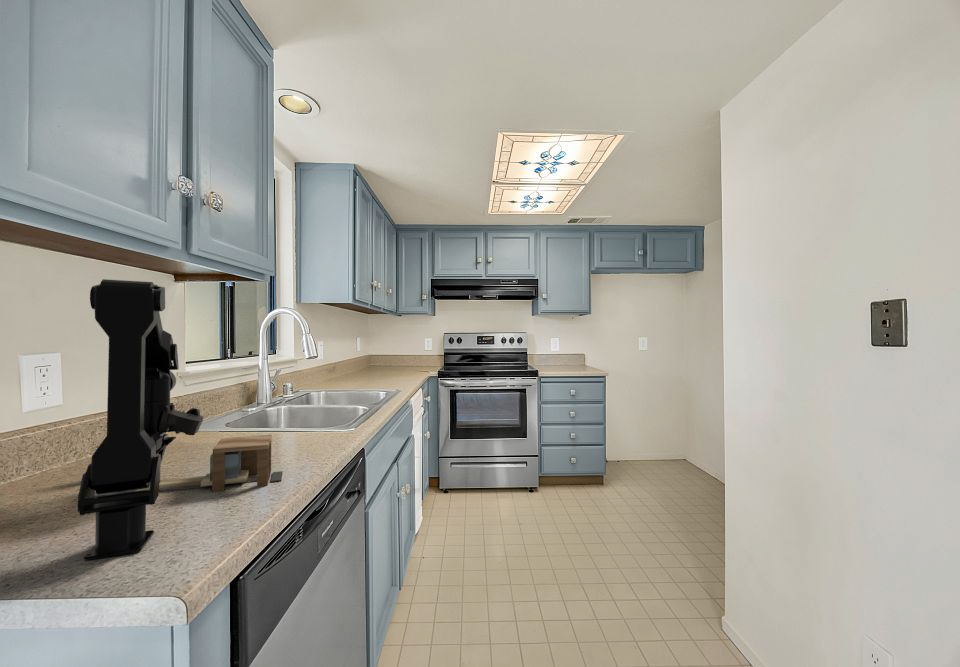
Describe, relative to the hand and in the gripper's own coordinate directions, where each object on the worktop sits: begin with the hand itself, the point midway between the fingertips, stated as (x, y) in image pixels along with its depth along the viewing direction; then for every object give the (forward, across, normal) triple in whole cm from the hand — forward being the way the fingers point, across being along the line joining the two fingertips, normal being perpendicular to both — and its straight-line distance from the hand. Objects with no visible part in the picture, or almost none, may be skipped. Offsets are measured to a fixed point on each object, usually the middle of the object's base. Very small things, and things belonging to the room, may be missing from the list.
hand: (151, 477), depth 86 cm
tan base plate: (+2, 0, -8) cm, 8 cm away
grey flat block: (+3, 0, -23) cm, 23 cm away
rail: (+3, 0, -5) cm, 6 cm away
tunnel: (+3, 0, -16) cm, 17 cm away
